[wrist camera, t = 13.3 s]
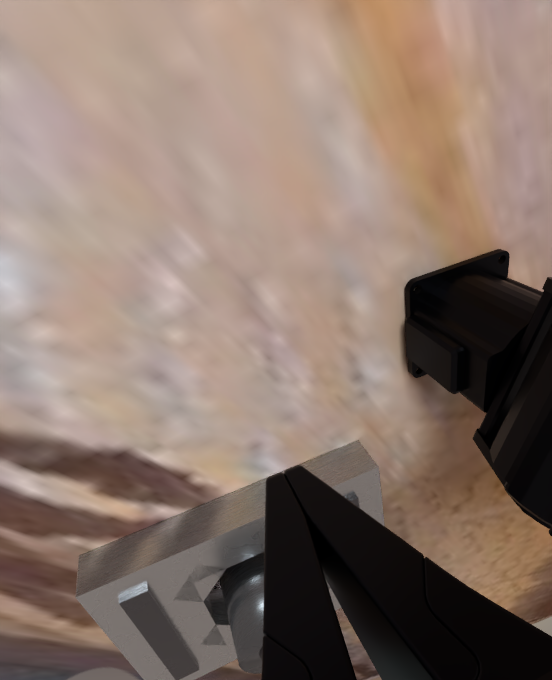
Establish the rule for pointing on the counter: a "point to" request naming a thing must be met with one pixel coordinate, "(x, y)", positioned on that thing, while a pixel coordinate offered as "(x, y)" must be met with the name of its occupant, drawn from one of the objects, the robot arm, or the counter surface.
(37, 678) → the counter surface
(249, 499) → the jig
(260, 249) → the counter surface
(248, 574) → the bushing
